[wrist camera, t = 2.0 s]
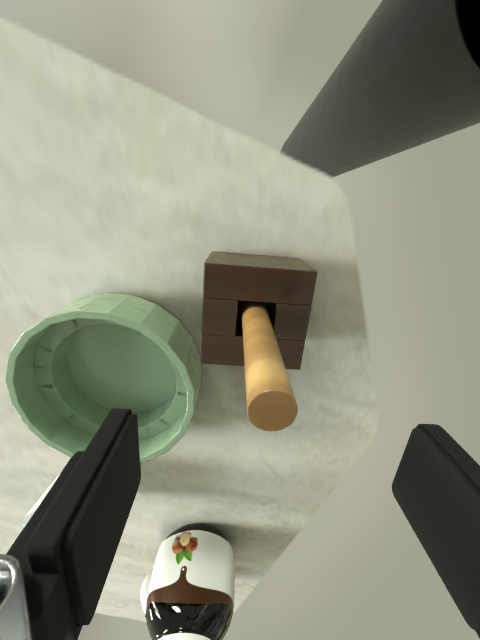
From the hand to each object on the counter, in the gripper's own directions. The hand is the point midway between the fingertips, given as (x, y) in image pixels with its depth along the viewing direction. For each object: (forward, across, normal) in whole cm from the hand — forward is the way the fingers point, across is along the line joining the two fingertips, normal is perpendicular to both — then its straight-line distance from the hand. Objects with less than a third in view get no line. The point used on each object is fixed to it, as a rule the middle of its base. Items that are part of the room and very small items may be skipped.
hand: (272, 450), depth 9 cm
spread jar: (+18, +5, +37) cm, 41 cm away
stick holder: (+18, 0, 0) cm, 18 cm away
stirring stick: (+18, 0, 0) cm, 18 cm away
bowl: (+18, +12, +8) cm, 23 cm away
